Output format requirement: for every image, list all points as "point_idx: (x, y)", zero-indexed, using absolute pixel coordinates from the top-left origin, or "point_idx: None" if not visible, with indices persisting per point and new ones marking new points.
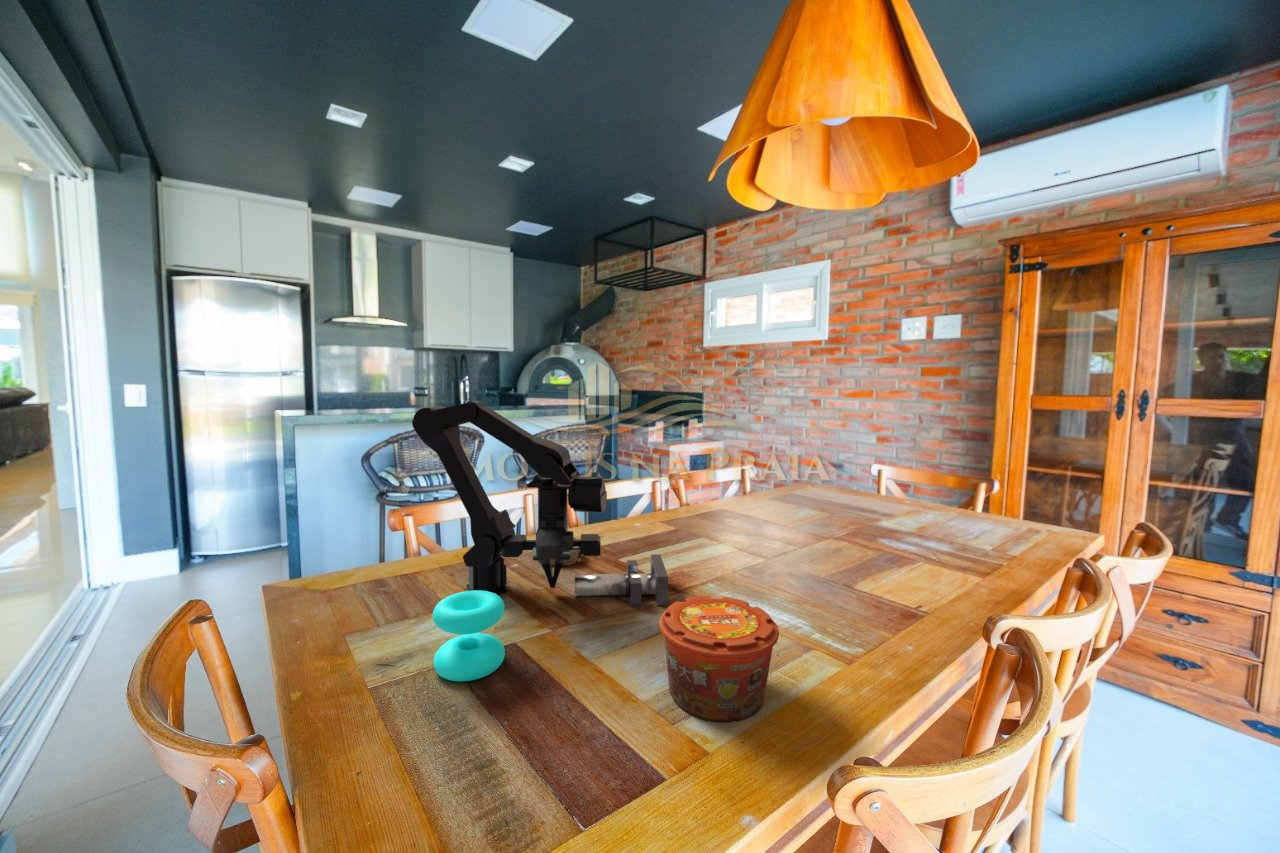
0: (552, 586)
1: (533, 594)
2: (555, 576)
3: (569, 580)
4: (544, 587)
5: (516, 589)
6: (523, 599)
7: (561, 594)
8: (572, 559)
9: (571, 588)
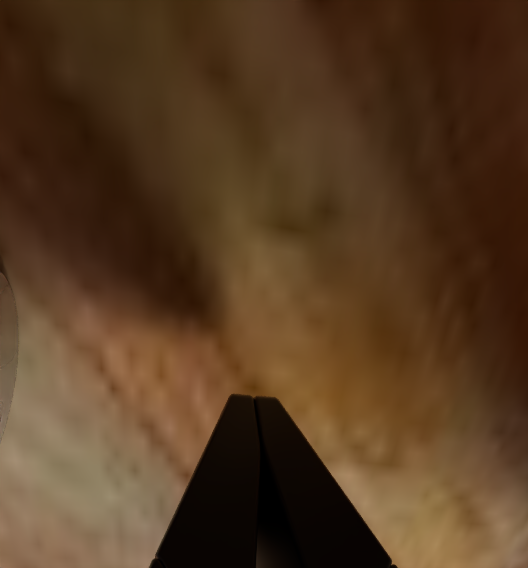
0: (256, 406)
1: (413, 386)
2: (222, 508)
3: (98, 557)
4: None
5: (513, 474)
6: (524, 309)
7: (161, 354)
8: None
9: (70, 447)
